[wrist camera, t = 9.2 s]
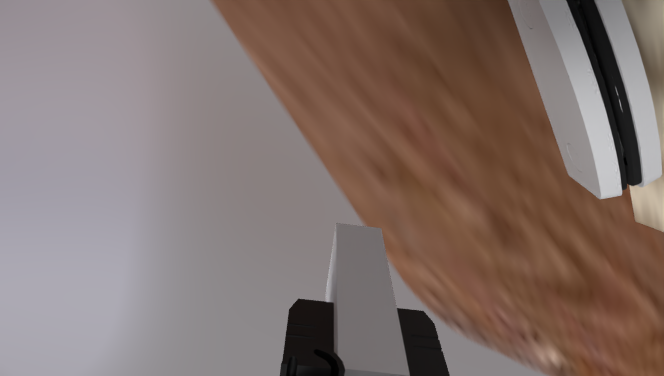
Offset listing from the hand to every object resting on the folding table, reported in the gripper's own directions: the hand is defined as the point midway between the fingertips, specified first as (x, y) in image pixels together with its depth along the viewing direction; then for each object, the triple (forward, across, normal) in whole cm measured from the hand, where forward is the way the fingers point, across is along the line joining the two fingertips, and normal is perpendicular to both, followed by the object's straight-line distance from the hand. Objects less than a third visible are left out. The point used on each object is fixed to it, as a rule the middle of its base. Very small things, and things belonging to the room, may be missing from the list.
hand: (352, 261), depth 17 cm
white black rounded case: (+22, +14, +4) cm, 26 cm away
